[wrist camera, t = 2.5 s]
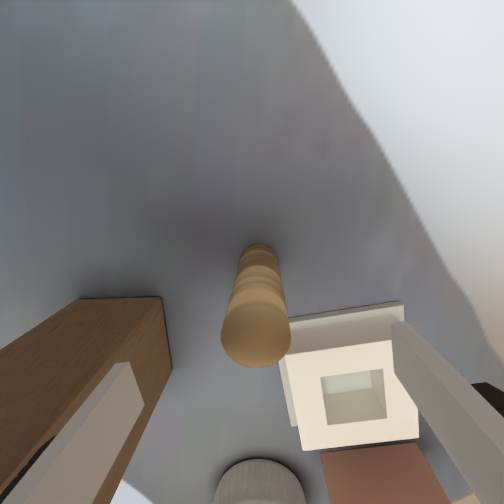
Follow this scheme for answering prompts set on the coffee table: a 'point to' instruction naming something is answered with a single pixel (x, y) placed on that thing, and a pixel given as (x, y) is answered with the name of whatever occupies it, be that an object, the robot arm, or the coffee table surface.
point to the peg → (257, 311)
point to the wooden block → (78, 376)
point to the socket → (346, 379)
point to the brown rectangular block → (381, 476)
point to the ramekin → (259, 484)
